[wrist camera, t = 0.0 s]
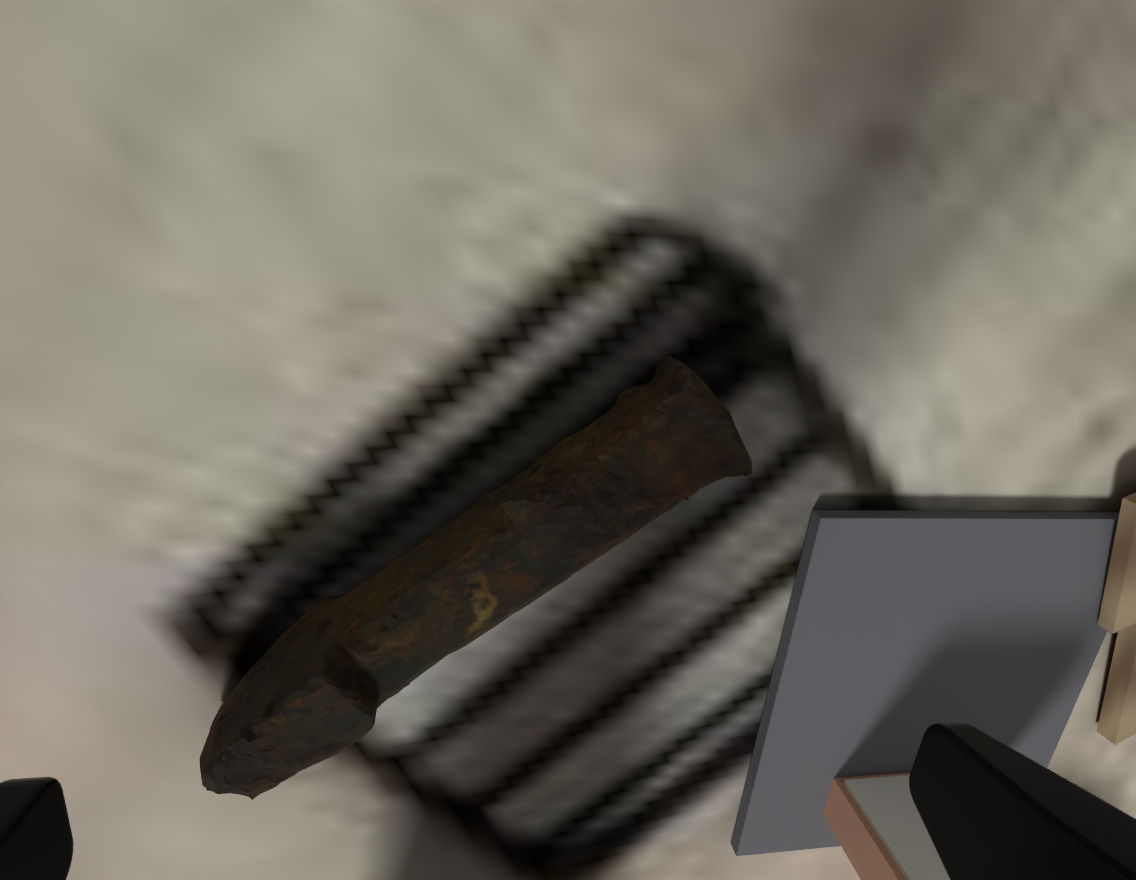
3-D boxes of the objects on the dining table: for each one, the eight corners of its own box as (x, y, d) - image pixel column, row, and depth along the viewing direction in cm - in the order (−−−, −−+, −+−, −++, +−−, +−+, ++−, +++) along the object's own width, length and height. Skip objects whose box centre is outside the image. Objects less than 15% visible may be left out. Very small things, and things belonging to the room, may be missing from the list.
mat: (1010, 817, 33) (1020, 828, 33) (730, 842, 30) (736, 855, 30) (1142, 512, 27) (1156, 519, 27) (812, 510, 25) (821, 518, 24)
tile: (966, 801, 31) (1130, 999, 24) (822, 814, 30) (948, 1028, 23) (982, 763, 30) (1155, 956, 23) (834, 774, 29) (969, 983, 22)
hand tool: (667, 332, 22) (724, 376, 17) (722, 432, 23) (786, 495, 19) (163, 651, 23) (100, 765, 18) (248, 726, 24) (209, 847, 20)
